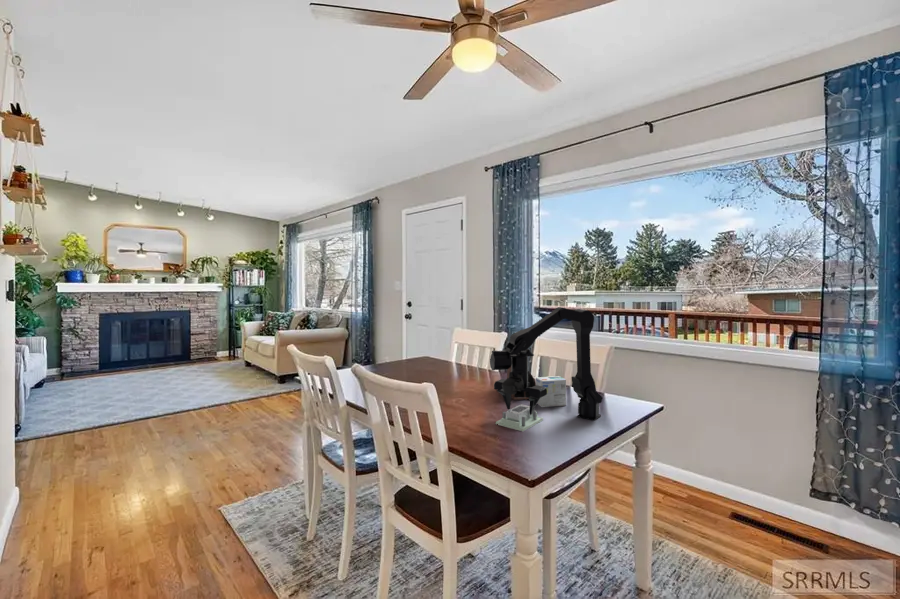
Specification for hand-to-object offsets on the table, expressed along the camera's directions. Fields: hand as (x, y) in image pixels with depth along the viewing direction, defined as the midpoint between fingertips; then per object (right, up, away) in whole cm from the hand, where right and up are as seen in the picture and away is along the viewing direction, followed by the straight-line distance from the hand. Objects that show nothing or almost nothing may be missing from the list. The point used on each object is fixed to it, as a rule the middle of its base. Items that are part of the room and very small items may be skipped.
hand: (519, 411), depth 150 cm
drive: (0, -3, 0) cm, 3 cm away
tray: (0, -4, 0) cm, 4 cm away
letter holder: (+7, -2, +37) cm, 37 cm away
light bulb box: (+16, -3, +21) cm, 26 cm away
